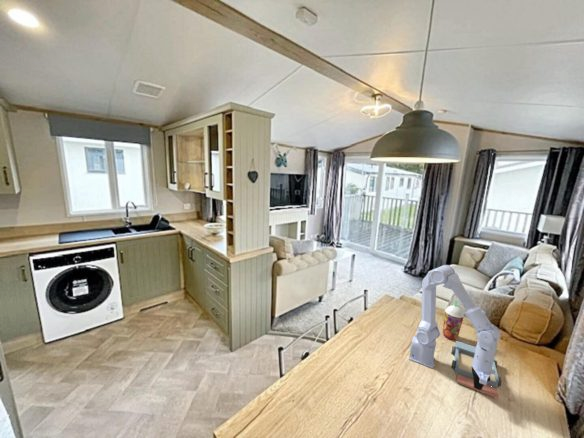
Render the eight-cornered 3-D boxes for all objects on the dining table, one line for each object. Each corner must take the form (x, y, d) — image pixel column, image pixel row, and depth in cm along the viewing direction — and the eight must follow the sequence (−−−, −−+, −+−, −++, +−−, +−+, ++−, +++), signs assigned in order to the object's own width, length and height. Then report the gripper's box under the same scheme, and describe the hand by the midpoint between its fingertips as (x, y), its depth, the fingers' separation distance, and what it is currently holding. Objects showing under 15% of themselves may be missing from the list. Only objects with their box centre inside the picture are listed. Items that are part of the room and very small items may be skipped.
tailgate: (456, 375, 107) (457, 382, 102) (456, 373, 106) (457, 380, 102) (495, 390, 100) (498, 398, 95) (496, 388, 100) (498, 396, 95)
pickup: (451, 371, 108) (453, 361, 108) (451, 349, 123) (453, 339, 122) (500, 390, 100) (503, 378, 99) (494, 363, 115) (496, 353, 114)
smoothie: (454, 332, 136) (460, 298, 132) (462, 343, 128) (470, 306, 124) (437, 331, 137) (443, 296, 133) (445, 341, 129) (452, 304, 125)
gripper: (500, 373, 88) (492, 407, 90) (494, 350, 100) (487, 380, 103) (475, 365, 92) (468, 397, 94) (472, 343, 104) (466, 372, 106)
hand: (477, 388), depth 99 cm, fingers closed, pressing on tailgate
